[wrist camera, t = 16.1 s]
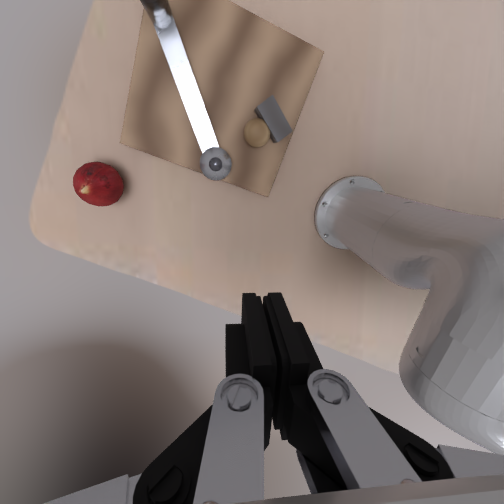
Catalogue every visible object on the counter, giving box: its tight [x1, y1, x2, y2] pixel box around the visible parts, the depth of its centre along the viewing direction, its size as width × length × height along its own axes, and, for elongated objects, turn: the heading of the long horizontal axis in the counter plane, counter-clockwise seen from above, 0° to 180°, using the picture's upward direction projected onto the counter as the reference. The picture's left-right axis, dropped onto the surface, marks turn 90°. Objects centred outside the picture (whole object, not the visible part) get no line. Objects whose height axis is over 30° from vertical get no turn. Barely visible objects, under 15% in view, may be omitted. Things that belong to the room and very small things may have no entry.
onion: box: [73, 162, 124, 206], centre depth 34 cm, size 6×6×8 cm
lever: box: [140, 0, 232, 180], centre depth 29 cm, size 20×4×9 cm, turn 18°
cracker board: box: [120, 0, 324, 197], centre depth 33 cm, size 22×20×6 cm
